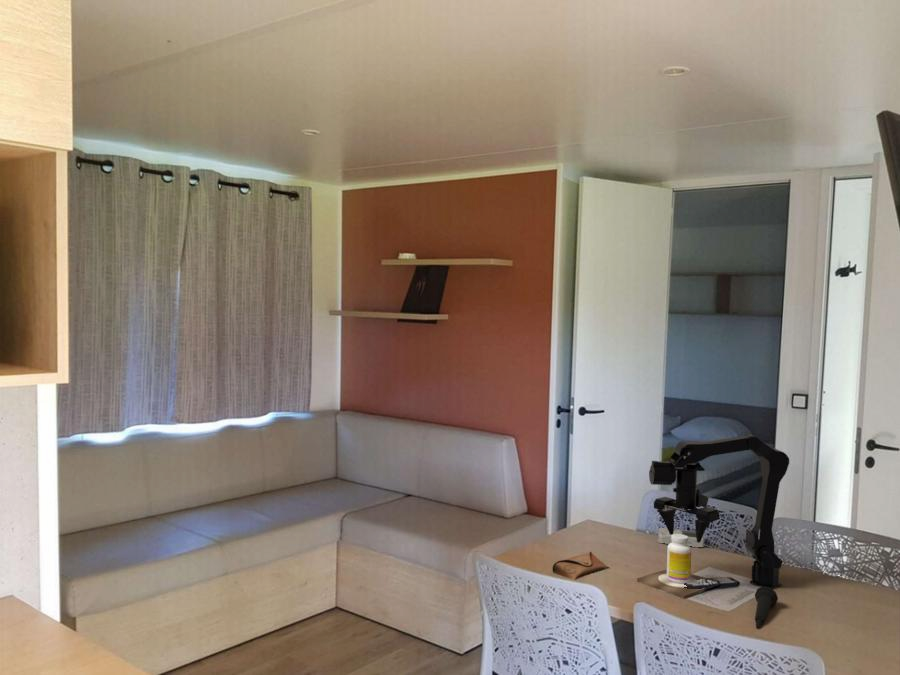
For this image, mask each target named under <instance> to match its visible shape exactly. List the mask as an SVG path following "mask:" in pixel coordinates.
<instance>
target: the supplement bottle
mask: <svg viewBox="0 0 900 675" xmlns="http://www.w3.org/2000/svg"><path fill="white" fill-rule="evenodd" d="M671 541H672V543H670V544H667V552H666V569H667V579H668V580H670V581H672V582H675V583H688V582H689V581H690V577H691V574H692V573H691V572H692V571H691V569H692V568H691V567H692V547H690V546H689V545H687V542H688V536H686V535H682V534H672V535H671Z"/></svg>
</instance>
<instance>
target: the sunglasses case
mask: <svg viewBox="0 0 900 675" xmlns="http://www.w3.org/2000/svg"><path fill="white" fill-rule="evenodd" d="M608 569H610V567H609V566H607V564H605V563H604V562H603V561H601V560H600V559H599V558H598V557H597V556H596V555H595V554H594V553H592V551H589V552H586V553H584V554H579V555H576V556H572V557H569V558H567V559H561V560H558V561H556V562H555V563H554V564H553V565H552V573H553V574H556V575H559V576H561V577H564V578H567V579H570V580H573V581H574V580H577V579H579V578H581V577H585V576H588V575H590V574H593V573H596V572H599V571H603V570H608Z"/></svg>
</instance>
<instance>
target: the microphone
mask: <svg viewBox="0 0 900 675" xmlns="http://www.w3.org/2000/svg"><path fill="white" fill-rule="evenodd" d="M754 597H755V600H756V602H757V604H756V611H755V616H754V621H755V628H756V629H757V630H758V629H759V628H760V627H761V626H762V625H763V624H764V623H765V621H766V618H767V617H768V613H769V611H770V609H771V608H773V607H775V606H776V605H777V603H778V599H779V597H778V594H777V592H776V590H774V588H773V589H771V588H770V587H765V586H762V587H761V586H759V587H758V588H757V589H756V591H755V593H754Z"/></svg>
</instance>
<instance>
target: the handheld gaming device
mask: <svg viewBox="0 0 900 675" xmlns="http://www.w3.org/2000/svg"><path fill="white" fill-rule="evenodd" d="M673 534H682V535H686V536H688V542H687V545H689V546H692V547H691V548H698V547H703V548H704V543H705V541H704V540H705V539H704V537H705V536H703V537H702V539H701V542H699V543H698V542H697V539H696V530H688V529H687V530H686V529H676V528H674V531H673ZM657 537H658V538H657V541H658V543H659V544H662V543H665V544H664V545H669V544H670V543H672V540H671V535H670V533H669V531H668V529H667V527H659V528H658V535H657Z"/></svg>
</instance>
